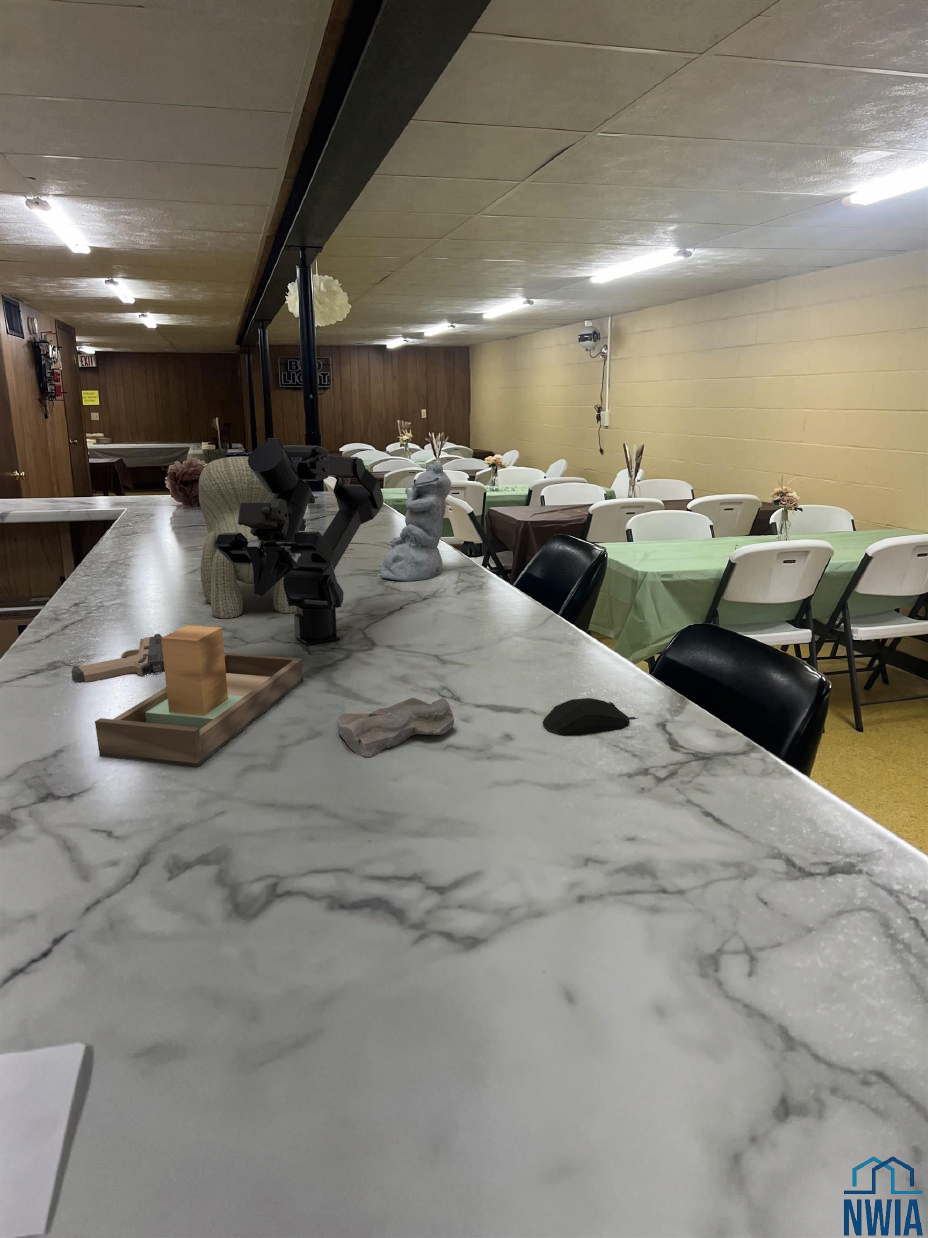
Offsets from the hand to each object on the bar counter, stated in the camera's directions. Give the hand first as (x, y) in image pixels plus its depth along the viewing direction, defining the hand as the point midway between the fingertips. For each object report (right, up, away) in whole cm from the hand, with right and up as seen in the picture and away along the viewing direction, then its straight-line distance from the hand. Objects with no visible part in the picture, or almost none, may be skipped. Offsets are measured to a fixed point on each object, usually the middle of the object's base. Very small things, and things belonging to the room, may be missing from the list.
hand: (258, 595), depth 118 cm
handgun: (-25, -11, +9) cm, 28 cm away
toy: (-14, 0, +48) cm, 49 cm away
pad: (-3, -17, -16) cm, 24 cm away
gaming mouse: (+49, -18, -15) cm, 55 cm away
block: (-3, -15, -17) cm, 23 cm away
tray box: (-2, -16, -12) cm, 20 cm away
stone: (+23, -19, -19) cm, 35 cm away
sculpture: (+19, +7, +75) cm, 77 cm away
